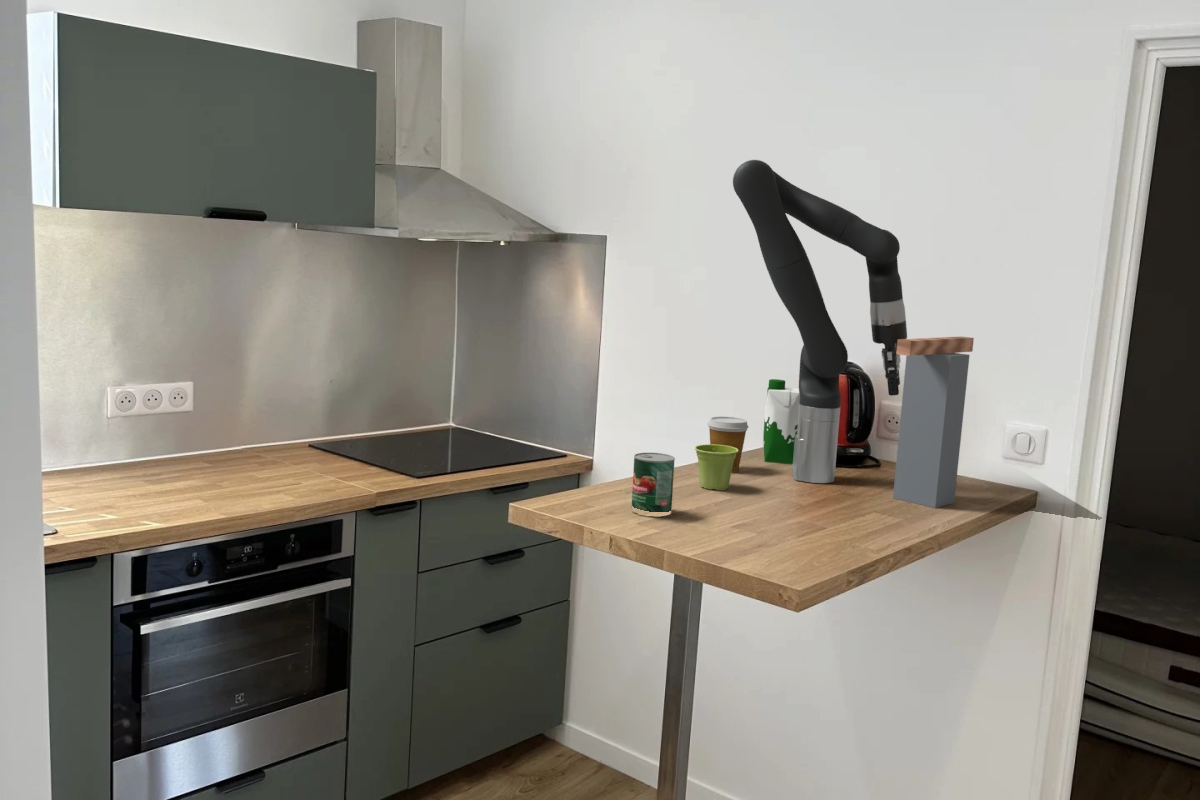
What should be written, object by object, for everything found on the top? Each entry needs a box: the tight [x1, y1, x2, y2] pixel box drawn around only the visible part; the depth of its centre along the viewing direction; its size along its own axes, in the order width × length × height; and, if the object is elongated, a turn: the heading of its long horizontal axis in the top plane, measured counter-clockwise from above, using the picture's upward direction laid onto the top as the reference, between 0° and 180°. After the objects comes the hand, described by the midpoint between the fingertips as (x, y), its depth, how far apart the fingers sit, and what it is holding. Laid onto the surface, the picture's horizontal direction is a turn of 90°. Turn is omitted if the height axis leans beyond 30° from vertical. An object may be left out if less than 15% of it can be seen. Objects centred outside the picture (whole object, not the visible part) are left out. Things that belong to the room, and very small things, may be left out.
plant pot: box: [694, 443, 738, 491], centre depth 224 cm, size 9×9×9 cm
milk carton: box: [762, 378, 800, 465], centre depth 257 cm, size 9×9×20 cm
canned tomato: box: [631, 452, 676, 512], centre depth 201 cm, size 8×8×11 cm
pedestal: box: [892, 352, 971, 509], centre depth 220 cm, size 8×10×32 cm
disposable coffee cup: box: [707, 416, 749, 474], centre depth 243 cm, size 10×10×12 cm
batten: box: [896, 336, 974, 356], centre depth 217 cm, size 26×3×3 cm, turn 133°
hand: (894, 390), depth 234 cm, fingers open, 8 cm apart
